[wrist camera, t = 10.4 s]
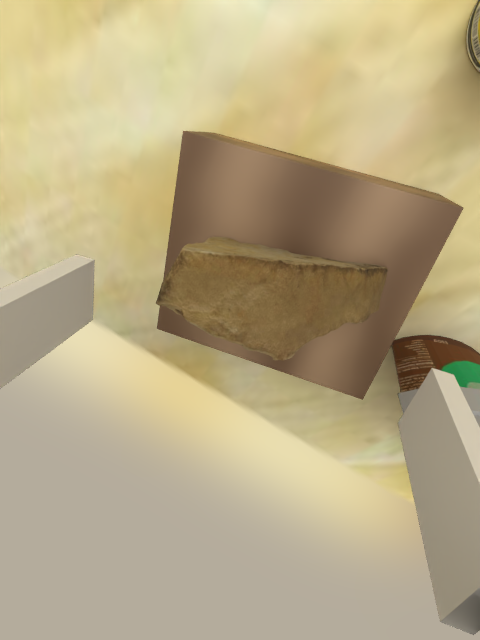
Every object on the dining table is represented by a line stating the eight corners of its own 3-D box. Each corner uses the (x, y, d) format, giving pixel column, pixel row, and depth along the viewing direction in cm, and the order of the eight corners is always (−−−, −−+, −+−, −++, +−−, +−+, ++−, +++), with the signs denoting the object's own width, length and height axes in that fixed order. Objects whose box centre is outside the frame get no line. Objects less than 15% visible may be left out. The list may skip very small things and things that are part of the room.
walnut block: (185, 299, 28) (157, 328, 24) (213, 132, 22) (183, 130, 18) (359, 357, 27) (362, 399, 22) (438, 194, 21) (463, 207, 17)
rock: (463, 244, 15) (261, 109, 14) (421, 440, 12) (149, 290, 10) (326, 315, 25) (200, 241, 24) (283, 433, 22) (133, 356, 20)
